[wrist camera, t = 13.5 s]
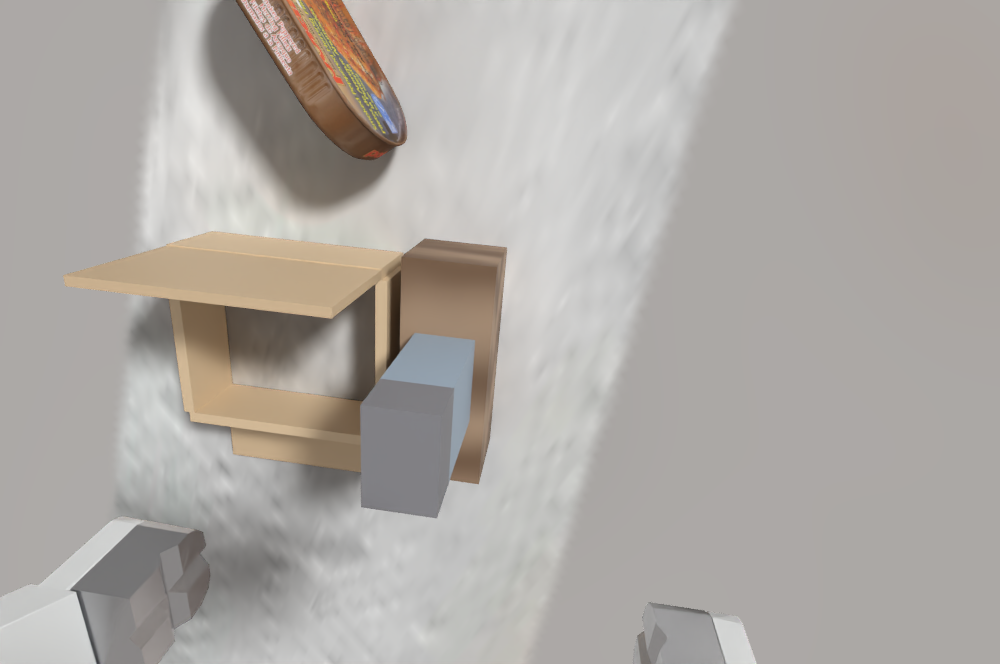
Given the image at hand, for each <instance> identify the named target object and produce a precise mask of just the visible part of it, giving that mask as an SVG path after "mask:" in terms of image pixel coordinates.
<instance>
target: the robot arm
mask: <svg viewBox="0 0 1000 664" xmlns="http://www.w3.org/2000/svg"><path fill="white" fill-rule="evenodd" d="M205 547H206V543H205V539H204V534H203V532H201V531H199V530H195V529H190V528H185V527H180V526H174V525H169V524H164V523H159V522H153V521H148V520H147V521H146V520H141V519H135V518H130V517H125V516H121V517H118V518H116V519H113V520H111V521H110V522H109V523H108V524H106V525H105V526H104V527H103V528H102V529H101V530H100V531H99V532H97V533H96V534H95V535H94V536H93V537H92V538H91V539H90V540H89V541H87V542H86V543H85V544H84V545H83V546H82V547H81V548H79V549H78V550H77V551H76V552H75V553H74V554H73V555H72V556H71V557H70V558H68V559H67V560H66V561H65V562H64V563H63V564H62V565H60V566H59V567H58V568H57V569H56V570H55V571H54V572H52V573H51V574H50V575H49V576H48V577H47V578H46V579H45V580H44V581H42V582H41V583H40V584H39V585H35V584H28V585H26V586H24V587H22V588H19V589H17V590H15V591H12V592H10V593H8V594H6V595H3V596H1V597H0V664H158V663H159V662H160V660H161V659H162V658H163V656H164V655H165V654H166V652H167V651H168V650H169V648H170V647H171V646H172V644H173V643H174V642H175V628H177V627H178V626H180V625H182V624H183V623H185V622H187V621H188V620H190V619H191V618H192V617H193V616H194V614H195V613H196V611H197V610H198V609H199V607H200V606H201V604H202V602H203V600H204V597H205V595H206V592H207V590H208V588H209V581H210V569H209V564H208V563H207V562H206V561H205V559H204V558H203V557H202V556H201V555H200V553H201V552H202V550H203V549H204V548H205ZM642 618H643V626H644V632H642V633H641V634H639V635H638V636H637V639H636V643H635V648H634V656H633V664H757V663H756V660H755V658H754V655H753V652H752V649H751V646H750V644H749V641H748V638H747V635H746V632H745V629H744V627H743V624H742V621H741V620H740V619H739V618H738V617H737V616H734V615H728V614H722V613H715V612H709V611H707V612H705V611H704V610H697V609H691V608H684V607H677V606H670V605H664V604H657V603H650V602H649V603H648V604H647V605H646V607H645V610H644V613H643V617H642Z"/></svg>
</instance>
